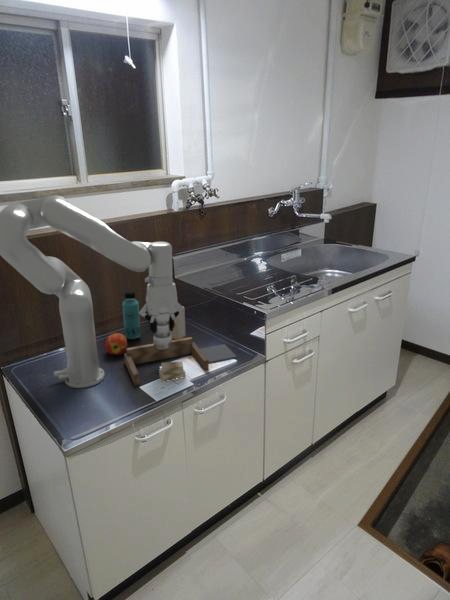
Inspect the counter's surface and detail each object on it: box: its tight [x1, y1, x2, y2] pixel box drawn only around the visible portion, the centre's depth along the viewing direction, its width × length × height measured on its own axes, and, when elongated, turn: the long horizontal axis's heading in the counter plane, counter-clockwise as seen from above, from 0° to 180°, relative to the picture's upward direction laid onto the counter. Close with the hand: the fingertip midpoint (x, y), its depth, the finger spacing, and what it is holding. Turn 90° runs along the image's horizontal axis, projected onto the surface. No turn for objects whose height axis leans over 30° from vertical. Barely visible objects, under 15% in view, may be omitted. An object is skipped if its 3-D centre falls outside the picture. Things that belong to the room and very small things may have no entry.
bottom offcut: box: [158, 368, 186, 383], centre depth 141 cm, size 8×4×2 cm, turn 113°
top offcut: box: [160, 360, 184, 375], centre depth 141 cm, size 7×4×2 cm, turn 99°
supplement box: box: [170, 306, 187, 340], centre depth 169 cm, size 8×5×13 cm, turn 58°
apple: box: [104, 332, 128, 356], centre depth 156 cm, size 8×8×8 cm
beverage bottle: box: [121, 290, 141, 340], centre depth 165 cm, size 6×7×20 cm
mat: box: [199, 343, 237, 364], centre depth 157 cm, size 11×11×1 cm
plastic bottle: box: [152, 307, 173, 350], centre depth 143 cm, size 6×7×20 cm
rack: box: [123, 336, 210, 386], centre depth 147 cm, size 26×16×6 cm, turn 113°
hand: (162, 330), depth 144 cm, fingers closed on plastic bottle, 5 cm apart
